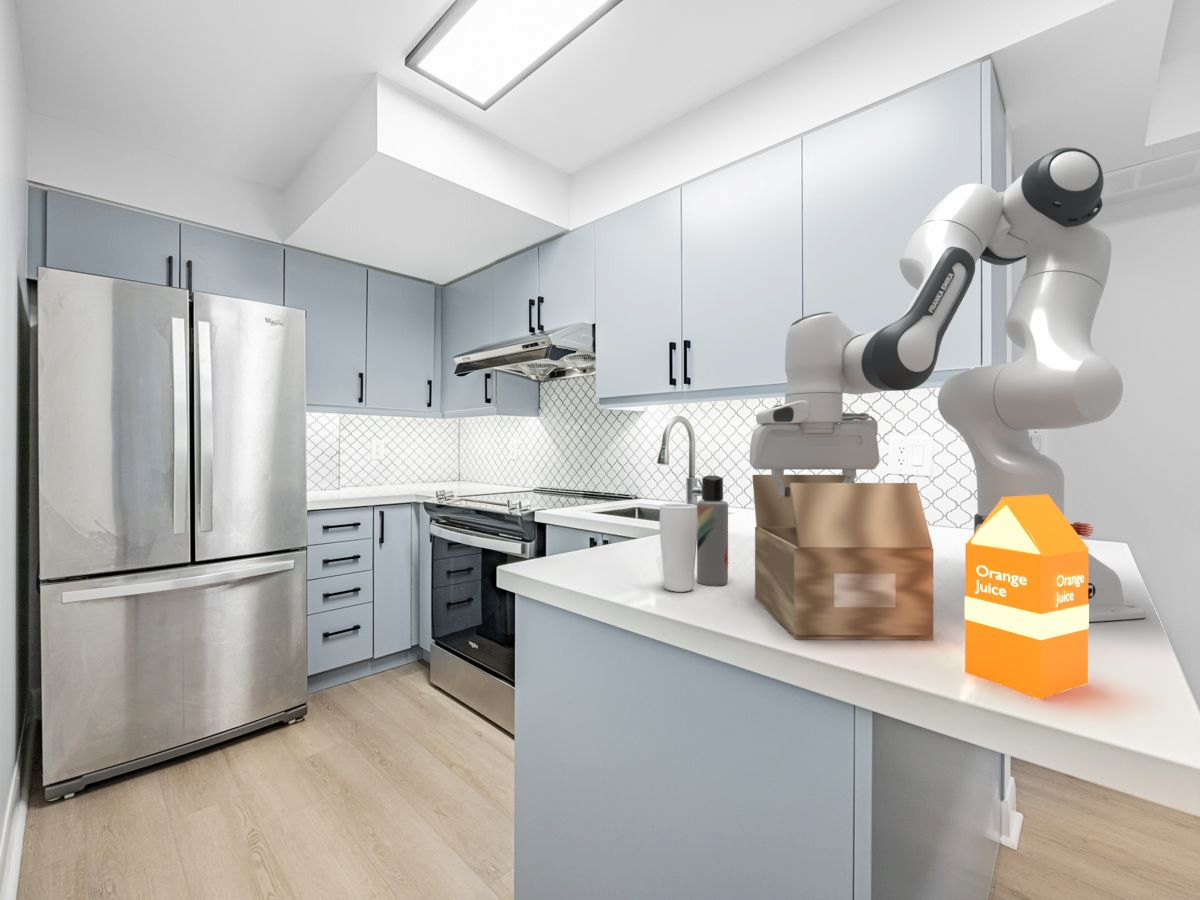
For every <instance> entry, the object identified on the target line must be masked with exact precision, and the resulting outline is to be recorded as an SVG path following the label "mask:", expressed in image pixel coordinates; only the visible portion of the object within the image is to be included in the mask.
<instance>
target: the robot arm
mask: <svg viewBox="0 0 1200 900" xmlns="http://www.w3.org/2000/svg"><path fill="white" fill-rule="evenodd" d="M1104 180H1105V179H1104V173H1103V168H1102V167H1101V164H1100V162H1099V161H1098V159H1097V158H1096V157H1095V156H1094V155H1093V154H1092V153H1090V152H1088V151H1086V150H1084V149H1081V148H1077V147H1063V148H1062V147H1061V148H1057V149H1055V150H1053V151H1050V152H1049V153H1048V152H1047V154H1045V155H1043V156H1041V157H1040V158H1039V159H1037V160H1036V161H1034V162H1033V163H1032V164H1030V166H1028V168H1027V169H1026V170H1025V172H1023V174H1021V175H1020V176H1019V177H1018V178H1016V179H1015V180H1014V181H1013V182H1012V183H1011V185H1009V186H1008V187H1007V188H1006V189H1005V190H1004V191H1000V192H997V191H996V190H995V189H994V188H992V187H991V186H990V185H986V184H984V183H983V184H982V183H975V182H972V183H970V182H969V183H966V184H962V185H960V186H957V187H956V188H954V189H952V190H951V191H950V192H949V193H948V194H946V195H945V197H943V198H942V199H941V200H940V201H939V202H937V204H936V205H935V206H934V208H933V209H932V210H931V211H930V212H929V213H928V214H927V215H926V217H925V218H924V219H923V220H922V222H921V223H920V225H919V226H918V227H917V228H916V230H915V231H914V233H913V234H912V236H911V237H910V238H909V239H908V241H907V243H906V245H905V246H904V248H903V251H902V254H901V255H900V259H899V269H900V273H901V274H902V277H903V278H904V280H905V281H906V282H907V283H908V285H910V286H911V287H912V288H914V289H915V290H917V291H916V293H915V295H914V296H913V298H912V299H911V302H910V303H909V305H908V307H907V308H906V310H905V312H904V313H903V315H901V317H899V318H898V319H896V320H895V321H893V322H892V323H890V324H888V325H886V326H884V327H882V328H879V329H877V330H873V331H870V332H868V333H864V332H861V331H859V330H857V329H854V328H852V327H851V326H849V325H848V324H846V323H845V322H844V321H842V319H841V318H840V316H839V315H838V314H837V313H836V312H831V311H827V312H826V311H824V312H818V313H813V314H810V315H805V316H804V317H801V318H799V319H797V320H795V321H793V322H792V324H791V325H790V326H789V328H788V331H787V335H786V341H785V351H784V352H785V353H784V354H785V355H784V372H785V374H786V379H787V384H786V385H787V386H786V389H785V392H784V403H783V404H777V405H775V406H773V407H771V408H767V409H765V410H762V411H759V412H758V413H756V416H755V421H756V424H757V425H759V426H757V427H756V428H754V430H753V432H752V434H751V441H750V448H749V464H750V466H751V467H752V468H753V469H754V470H771V474H770V475H771V476H772V478H773V479H774V481H775V483H776V484H777V486H778V495H779V497H780V498H790V487H788V486H785V485H784V483H783V481H782V479H781V478H780V476H784V475H785V474H784V472H785V471H784V470H841V471H842V474H841V475H843V476H846V477H845V479H844V481H843V482H842V483H853V481H854V482H855V479H856V478H857V470H875V469H876V468H877V467H878V466H879V464H880V451H879V443H878V438H877V436H878V433H879V432H878V431H879V430H878V429H879V427H878V421H877V419H876V418H875V417H873V416H872V415H870V414H869V413H866V412H860V413H852V412H844V411H843V394H848V395H864V394H874V393H881V392H886V391H887V392H888V391H889V392H891V391H892V392H893V391H897V392H899V391H902V392H903V391H910V390H913V389H916V388H918V387H920V386H922V385H923V384H924V383H925V382H926V381H927V380H928V379H929V378H930V376H931V375H932V374H933V371H935V367H936V364H937V362H938V358H939V352H940V349H941V345H942V341H943V338H944V336H945V333H946V332H947V331H948V328H949V326H950V324H951V322H952V320H953V318H954V316H955V314H956V313H957V311H958V309H959V307H960V306H961V304H962V302H963V300H964V297H965V296H966V293H968V289H969V288H970V286H971V284H972V282H973V279H974V276H975V272H976V263H977V262H978V260H979V259H980V260H982V261H984V262H986V263H988V264H991V265H994V266H1008V265H1013V264H1015V263H1017V262H1020V261H1021V260H1024V259H1026V265H1025V269H1026V270H1025V272H1024V273H1023V275H1022V277H1021V280H1020V282H1019V285H1018V287H1017V290H1016V293H1015V295H1014V298H1013V300H1012V303H1011V305H1010V308H1009V310H1008V314H1007V317H1006V318H1005V321H1004V329H1005V332H1006V334H1007V336H1008V338H1009V339H1010V341H1011V342H1012V343H1013V344H1015V345H1016V346H1018V347H1019V348H1022V349H1023V353H1022V355H1021V356H1020V357H1019V358H1018V359H1017V360H1016V361H1011V362H1004V363H997V364H991V365H986V366H985V365H984V366H978V367H974V368H971V369H967V370H965V371H962V372H960V373H957V374H955V375H952V376H950V377H948V378H947V379H946V380H945V381H944V382H942V383H943V384H942V385H941V387H940V389H939V391H938V395H937V407H938V411H939V413H940V415H941V418H942V419H943V420H944V421H945V423H946V424H948V425H949V426H951V427H952V428H953V429H955V430H956V431H957V432H958V433H959V435H960V436H961V437H962V439H963V440H964V442H965V443H966V445H967V448H968V449H969V450H968V451H969V452H970V454H971V457H972V459H973V463H974V468H975V473H976V474H975V475H976V495H977V500H976V501H977V513H976V514H975V515H974V523H973V535H974V534H975V532H976V531H977V530H978V528H979V527H980V526H981V525H982V523H983V522H984V521H985V520H986V518H987V517H988V516H989V515H990V513H991V512H992V511H993V510H994V508H995V507H996V506H997V504H998V503H999V502H1000V501H1001V499H1002V498H1001V497H1015V496H1032V495H1048V496H1049V497H1050V498H1051V500H1052V501H1053V502H1054V504H1055V505H1056V506H1057V508H1058V509H1059V510H1060V512H1061V513H1062V514H1063V516H1064V517H1065V475H1064V472H1063V469H1062V467H1061V466H1060V465H1059V464H1058V463H1057V462H1056V461H1054V460H1053V459H1051V458H1050V457H1047V456H1046V455H1044V454H1041V453H1040V452H1039V451H1038V449H1036V446H1034V444H1033V442H1032V440H1031V437H1030V432H1029V430H1031V431H1032V430H1057V429H1058V430H1061V429H1062V430H1063V429H1069V428H1075V427H1079V426H1085V425H1089V424H1094V423H1098V422H1102V421H1104V420H1106V419H1108V418H1110V416H1111V415H1112V414H1113V413H1114V412H1115V411H1116V409H1117V407H1118V406H1119V405H1120V402H1121V401H1122V397H1123V394H1124V384H1123V379H1122V376H1121V374H1120V372H1119V370H1118V369H1117V367H1115V365H1114V364H1113V363H1112V362H1111V361H1110V360H1108V359H1106V358H1105V357H1103V356H1102V355H1099V354H1098V353H1097V352H1096V351H1095V350H1094V348H1093V346H1092V342H1091V332H1092V327H1093V324H1094V320H1095V318H1096V314H1097V312H1098V311H1097V310H1098V308H1099V304H1100V302H1101V299H1102V297H1103V294H1104V290H1105V287H1106V284H1107V281H1108V276H1109V271H1110V268H1111V259H1112V242H1111V239H1110V237H1109V236H1108V235H1107V233H1105V232H1104V231H1103V230H1101V229H1100V228H1097V227H1095V226H1092V225H1091V224H1090V222H1091V221H1092V220H1093V219H1095V217H1097V216H1098V215H1099V213H1100V212H1101V210H1102V208H1103V201H1102V197H1101V196H1102V194H1103V193H1102V192H1103V189H1104ZM1069 524H1070V525H1071V526H1072V527H1073V529H1074V530H1075V531H1076V533H1077V534H1078V535H1079V536H1080V537H1081V536H1082V537H1085V538H1086V537H1087V538H1088V537H1091V535H1092V534H1093V533H1094V532H1093V531H1094V529H1093V526H1092V525H1091V524H1089V523H1087V522H1084V523H1083V522H1082V523H1081V522H1080V521H1079V522H1078V521H1076V522H1073V523H1070V522H1069ZM1088 604H1089V623H1090V622H1091V623H1092V622H1104V621H1105V622H1106V621H1118V620H1134V619H1136V620H1137V619H1145V618H1146V614H1145V610H1143V609H1142V608H1140V607H1139V606H1136V605H1134V604H1131V603H1128V602H1125V601H1124V594H1123V587H1122V583H1121V579H1120V577H1119V575H1118V574H1117V572H1115V570H1113V569H1112V568H1110V567H1109V566H1108V565H1106V564H1105V563H1103V562H1102V561H1100V560H1099V559H1097V558H1096V557H1095V556H1093V555H1092V554H1091V553H1089V552H1088Z"/></svg>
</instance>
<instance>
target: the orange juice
mask: <svg viewBox="0 0 1200 900" xmlns="http://www.w3.org/2000/svg"><path fill="white" fill-rule="evenodd" d="M1001 498H1002V499H1001V501H1000V502H999V503H998V504H997V506H996V507H995V508H994V510H993V511H992V512H991V513H990V515H989V516H988V517H987V518H986V520H985V521H984V522H983V523H982V525H981V526H980V527H979V528H978V530H977V531H976V532H975V534H974V533H973V534H972V536H971V537H970V538H969V540H968V541H967V542H965V544H964V547H965V549H964V551H965V558H964V559H965V562H964V564H965V566H964V567H965V569H964V570H965V576H964V578H965V579H964V581H965V582H964V585H965V587H964V589H965V594H964V622H965V623H964V626H965V627H964V633H965V634H964V635H965V636H964V637H965V638H964V639H965V640H964V653H965V654H964V656H965V657H964V665H965V666H964V672H965V674H969V675H972V676H974V675H975V677H978V678H980V677H981V678H980V679H983V678H984V679H983V680H985V679H986V681H988V680H989V682H991V681H992V682H991V683H994V682H995V683H994V684H996V683H998V684H997V685H999V684H1001V685H1000V686H1002V685H1003V686H1002V687H1005V688H1007V687H1008V689H1010V690H1013V689H1014V690H1013V691H1016V692H1018V691H1019V692H1020V693H1021V692H1022V694H1025V695H1028V696H1029V695H1030V696H1029V697H1032V696H1033V697H1032V698H1035V697H1036V698H1035V699H1038V700H1043V699H1046V698H1045V697H1047V696H1050V695H1053V694H1056V693H1059V692H1061V691H1064V690H1067V689H1070V688H1074V687H1077V686H1080V685H1083V684H1086V683H1088V684H1089V626H1090V622H1089V604H1088V553H1089V551H1090V549H1089V548H1088V546H1087V544H1085V542H1084V540H1083V539H1082V538H1081V536H1080V535H1078V534H1077V533H1076V531H1075V530H1074V529H1073V527H1072V526H1071V525H1070V524H1071V523H1070V522H1069V521H1068V520H1067V518H1066V517H1065V515H1064V516H1063V514H1062V513H1061V512H1060V510H1059V509H1058V508H1057V506H1056V505H1055V504H1054V502H1053V501H1052V500H1051V498H1050V497H1049V496H1048V495H1032V496H1015V497H1001ZM1069 523H1070V524H1069ZM1019 692H1018V693H1019ZM1059 694H1060V693H1059ZM1056 695H1057V694H1056ZM1053 696H1054V695H1053ZM1050 697H1051V696H1050ZM1042 698H1043V699H1042ZM1047 698H1048V697H1047Z"/></svg>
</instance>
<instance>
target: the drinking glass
mask: <svg viewBox="0 0 1200 900" xmlns="http://www.w3.org/2000/svg"><path fill="white" fill-rule="evenodd" d="M697 532H698V510H697V504H691V503H663V504H660V505H659V535H660V536H659V537H660V549H661V559H662V570H663V571H662V576H663V587H664V589H665V590H667V591H669V590H670V592H673V591H674V593H687V592H689V591H693V590H694V587H695V586H694V585H695V582H694V581H695V578H694V577H695V565H696V557H697ZM686 591H687V592H686Z"/></svg>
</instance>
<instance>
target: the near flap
mask: <svg viewBox="0 0 1200 900" xmlns="http://www.w3.org/2000/svg"><path fill="white" fill-rule="evenodd" d="M789 485H790V492H791V499H792V505H793V512H794V519H795V526H796V532H797V539H798V546H799V548H880V549H931V548H933V544H932V539H931V535H930V534H931V533H930V531H929V527H928V522H927V518H926V515H925V511H924V507H923V503H922V499H921V495H920V492H919V488H918V484H917V482H855V483H790V484H789ZM933 549H934V548H933Z"/></svg>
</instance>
